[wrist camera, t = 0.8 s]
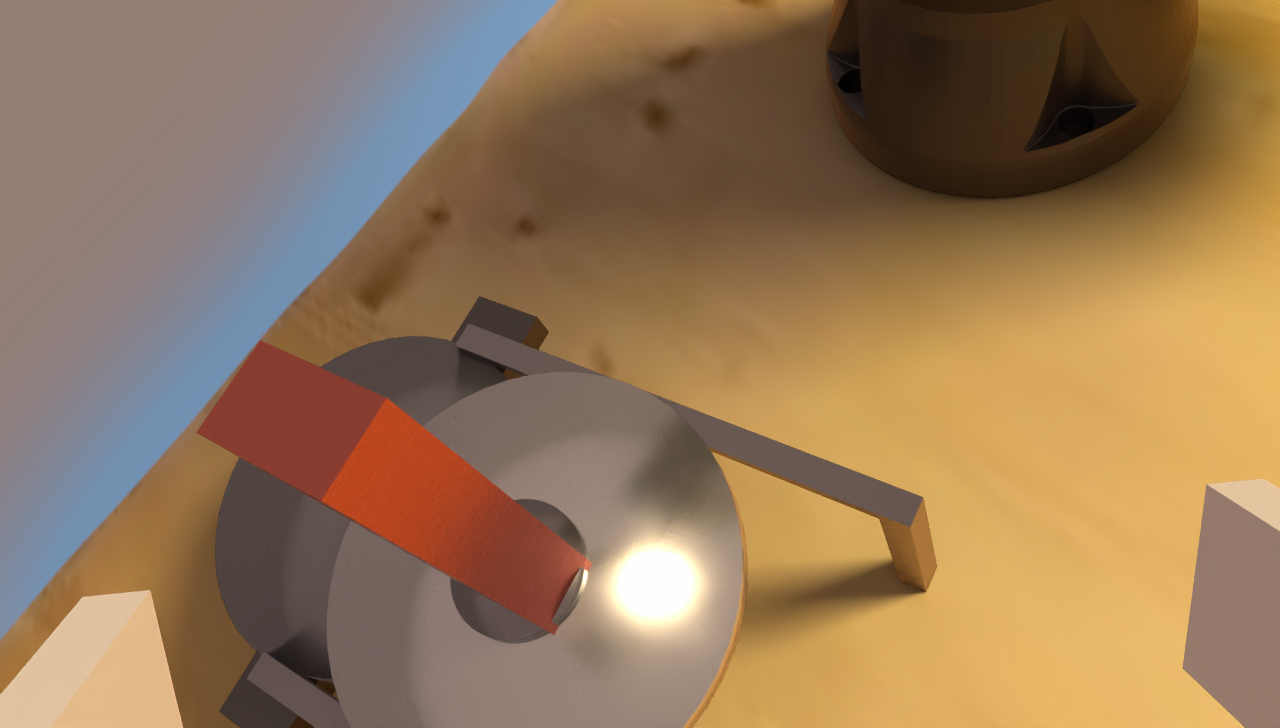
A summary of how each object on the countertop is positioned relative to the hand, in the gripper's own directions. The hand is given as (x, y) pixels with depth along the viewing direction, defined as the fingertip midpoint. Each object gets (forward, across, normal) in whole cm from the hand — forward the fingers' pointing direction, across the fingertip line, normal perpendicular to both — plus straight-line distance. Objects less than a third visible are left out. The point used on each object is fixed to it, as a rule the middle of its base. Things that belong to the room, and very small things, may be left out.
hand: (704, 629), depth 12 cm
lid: (+17, -3, -9) cm, 20 cm away
